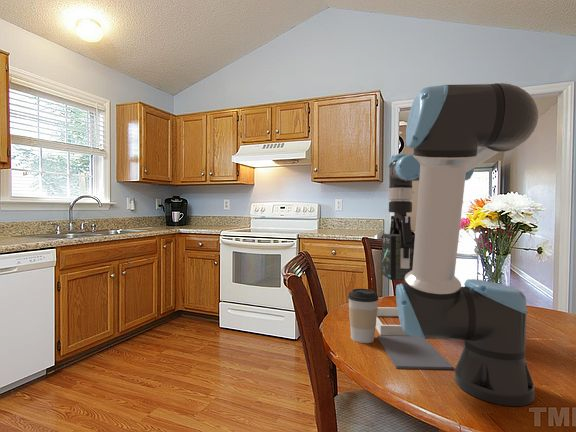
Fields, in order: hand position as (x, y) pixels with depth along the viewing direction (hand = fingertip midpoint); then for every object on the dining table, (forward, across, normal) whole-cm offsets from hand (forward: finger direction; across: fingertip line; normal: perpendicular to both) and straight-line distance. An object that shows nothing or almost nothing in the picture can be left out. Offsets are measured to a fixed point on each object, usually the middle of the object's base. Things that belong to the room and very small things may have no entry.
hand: (399, 265), depth 115 cm
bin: (+20, 0, 0) cm, 20 cm away
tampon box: (+4, 0, 0) cm, 4 cm away
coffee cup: (+21, -13, +15) cm, 28 cm away
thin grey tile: (+21, -22, +3) cm, 30 cm away
